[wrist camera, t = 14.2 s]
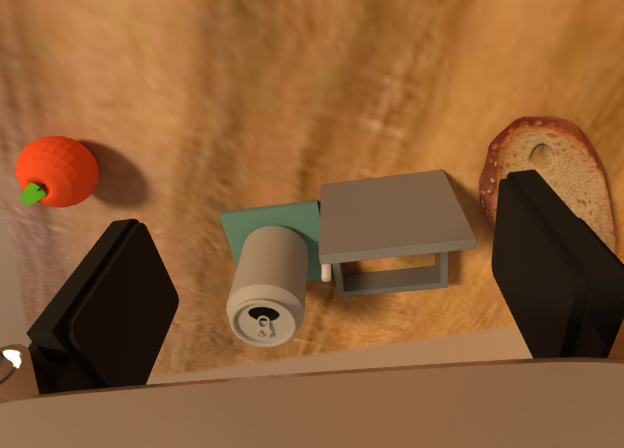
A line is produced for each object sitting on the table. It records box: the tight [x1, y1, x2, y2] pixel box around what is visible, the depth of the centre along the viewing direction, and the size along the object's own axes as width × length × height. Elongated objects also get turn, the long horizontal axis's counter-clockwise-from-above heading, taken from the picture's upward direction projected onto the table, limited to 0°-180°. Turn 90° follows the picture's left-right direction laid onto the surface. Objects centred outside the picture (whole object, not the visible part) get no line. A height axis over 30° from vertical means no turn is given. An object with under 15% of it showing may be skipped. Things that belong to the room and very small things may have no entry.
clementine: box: [16, 136, 98, 207], centre depth 41 cm, size 8×7×7 cm
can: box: [226, 226, 308, 347], centre depth 44 cm, size 8×8×12 cm
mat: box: [219, 200, 322, 282], centre depth 49 cm, size 11×11×1 cm
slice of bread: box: [479, 116, 617, 254], centre depth 44 cm, size 18×18×4 cm
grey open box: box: [319, 170, 476, 298], centre depth 42 cm, size 13×14×13 cm
